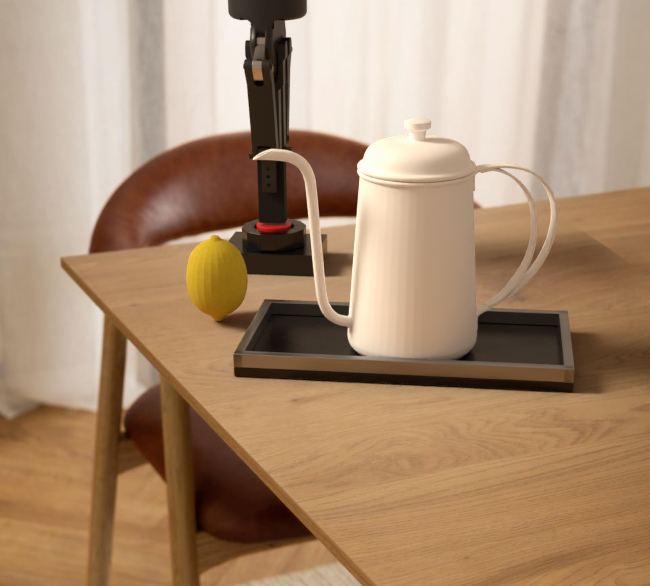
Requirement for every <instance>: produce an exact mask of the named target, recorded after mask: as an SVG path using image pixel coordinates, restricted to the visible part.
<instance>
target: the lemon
mask: <svg viewBox="0 0 650 586" xmlns="http://www.w3.org/2000/svg"><path fill="white" fill-rule="evenodd" d="M185 273H186V274H185V275H186V276H185V282H186V283H185V284H186V290H187V293H188V294H187V295H188V297H189V298H190V301H191V302H192V304H193V305H194V306H195V308H197V309H198V310H199V311H200V312H202V313H203V314H205V315H207V316H210V317H211V318H212V319H213V320H214V321H216V322H221V321H224V319H225V318H226V317H227V316H228V315H230V314H232V313H234V312H236V311H237V310H238V308H240V307H241V306H242V304H243V302H244V300H245V297H246V295H247V290H248V283H249V281H248V280H249V279H248V274H247V269H246V265H245V262H244V259H243V257H242V255H241V253H240V251H239V250H238V249H237V247H236V246H234V245H233V244H232V243H230V242H229V240H227V239H223V238H221V237H220V236H219V235H217V234H213V235H210V237H209V238H208V239H205V240H203V241H201V242H200V243H198V244H197V245H196V246H195V248H193V250H192V251H191V253H190V255H189V257H188V261H187V264H186V272H185Z"/></svg>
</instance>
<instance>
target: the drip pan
mask: <svg viewBox="0 0 650 586" xmlns="http://www.w3.org/2000/svg"><path fill="white" fill-rule="evenodd" d="M329 304H330V306H331V307H332V309H333V310H334V311H335V312H336V313H338V314H340V315H344V316H348V315H349V306H350V301H349V302H348V301H329ZM569 317H570V316H569V311H568V310H560V309H559V310H554V309H531V308H530V309H529V308H528V309H527V308H506V307H505V308H503V307H493V308H491V309H489V310H487V311H486V312H484V313H482V314H480V315H479V317H478V330H477V339H476V343H475V345H474V347H473V348H472V349H471V350H470V351H469V352H468V353H467V354H466V355H464V356H463V357H461V358H459V359H457V360H436V359H414V358H392V357H369V356H362V355H360V354H359V353H358V352H356V351H355V350H354V349H353V347H352V346H351V345H350V343H349V340H348V327H346V326H340V325H337V324H335V323H333V322H331V321H329V320H328V319H327V318H326V317H325V316H324V314H323V313H322V311H321V309H320V307H319V304H318V301H317V300H301V299H298V300H297V299H275V298H274V299H272V298H271V299H270V298H264V299H263V301H262V303H261V305H260V306H259V308H258V310H257V312H256V313H255V315H254V317H253V319H251V322H250V324H249V325H248V327H247V329H246V331H245V332H244V334H243V337H242V338H241V340H240V342H239V343H238V345H237V346H236V348H235V350H234V352H233V353H232V357H233V359H232V361H233V376H234V377H246V378H265V379H285V380H304V381H305V380H306V381H325V382H326V381H329V382H346V383H347V382H349V383H369V384H370V383H371V384H388V385H389V384H390V385H412V386H431V387H433V386H435V387H453V388H454V387H455V388H475V389H493V390H494V389H496V390H514V391H515V390H518V391H538V392H539V391H540V392H557V393H558V392H559V393H573V392H574V391H573V390H574V381H575V372H576V368H575V360H574V352H573V343H572V335H571V334H572V333H571V326H570V325H571V324H570V318H569Z"/></svg>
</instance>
